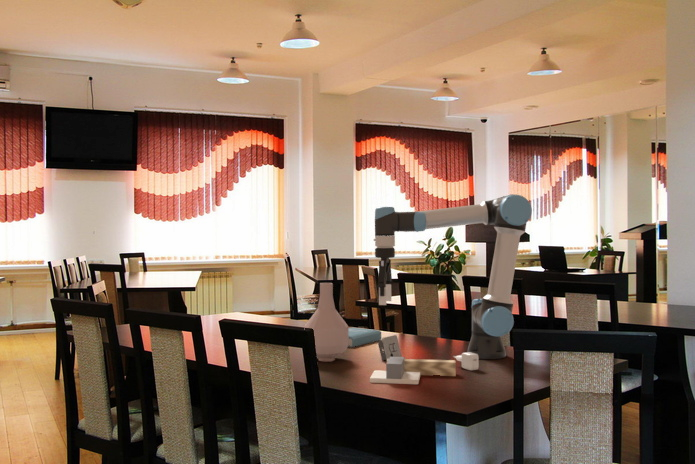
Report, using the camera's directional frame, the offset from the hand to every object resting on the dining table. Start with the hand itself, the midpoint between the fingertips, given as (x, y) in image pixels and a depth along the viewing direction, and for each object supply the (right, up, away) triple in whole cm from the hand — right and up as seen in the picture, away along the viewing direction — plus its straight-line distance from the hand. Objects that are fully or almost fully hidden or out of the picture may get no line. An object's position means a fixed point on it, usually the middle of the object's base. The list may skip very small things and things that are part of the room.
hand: (385, 303), depth 246 cm
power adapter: (+29, -23, -8) cm, 38 cm away
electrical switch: (+2, -23, +7) cm, 24 cm away
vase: (-23, -23, +7) cm, 33 cm away
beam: (+12, -23, -18) cm, 32 cm away
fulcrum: (+2, -23, -27) cm, 35 cm away
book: (-12, -24, +47) cm, 54 cm away
